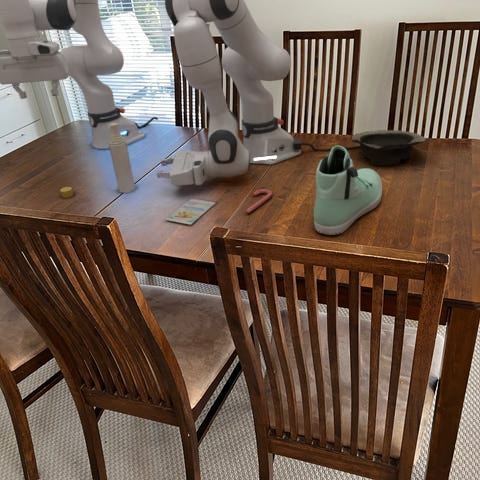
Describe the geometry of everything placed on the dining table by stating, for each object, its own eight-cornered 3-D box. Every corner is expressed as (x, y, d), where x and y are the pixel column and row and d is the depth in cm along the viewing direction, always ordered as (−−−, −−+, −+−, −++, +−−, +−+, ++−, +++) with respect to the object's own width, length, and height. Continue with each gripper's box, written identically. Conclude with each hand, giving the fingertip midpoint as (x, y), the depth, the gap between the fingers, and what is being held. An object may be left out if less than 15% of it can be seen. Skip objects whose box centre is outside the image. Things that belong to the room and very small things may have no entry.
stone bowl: (384, 176, 155) (384, 148, 151) (336, 158, 175) (335, 133, 171) (440, 157, 164) (442, 130, 159) (388, 142, 184) (389, 118, 180)
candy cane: (232, 210, 143) (232, 206, 142) (259, 190, 153) (259, 186, 152) (249, 215, 140) (248, 210, 139) (276, 194, 150) (275, 190, 149)
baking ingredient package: (164, 218, 140) (191, 197, 151) (165, 220, 140) (191, 199, 151) (190, 223, 136) (215, 201, 148) (190, 225, 136) (216, 203, 148)
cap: (60, 195, 161) (58, 189, 160) (71, 191, 163) (69, 185, 161) (64, 199, 158) (62, 192, 157) (75, 195, 160) (73, 189, 159)
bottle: (119, 186, 164) (105, 122, 152) (136, 184, 164) (123, 120, 152) (117, 193, 159) (103, 127, 147) (134, 191, 159) (121, 125, 147)
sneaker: (389, 187, 148) (396, 123, 138) (356, 242, 123) (361, 168, 112) (346, 181, 154) (350, 119, 144) (306, 232, 129) (307, 161, 118)
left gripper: (-16, 52, 133) (1, 102, 140) (58, 46, 134) (70, 96, 141) (-7, 49, 139) (8, 97, 146) (64, 43, 139) (75, 91, 146)
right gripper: (201, 144, 164) (162, 147, 165) (197, 168, 147) (153, 172, 148) (204, 161, 168) (164, 164, 168) (200, 187, 150) (156, 190, 151)
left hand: (39, 96), depth 143 cm, fingers open, 8 cm apart
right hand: (159, 168), depth 158 cm, fingers open, 8 cm apart
